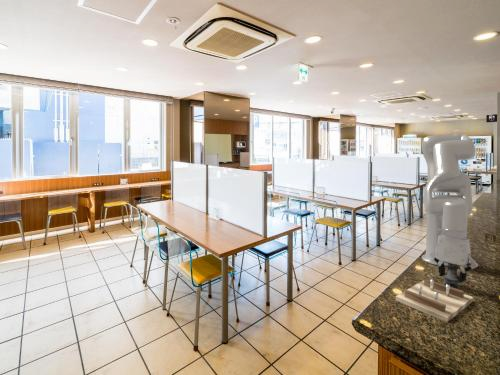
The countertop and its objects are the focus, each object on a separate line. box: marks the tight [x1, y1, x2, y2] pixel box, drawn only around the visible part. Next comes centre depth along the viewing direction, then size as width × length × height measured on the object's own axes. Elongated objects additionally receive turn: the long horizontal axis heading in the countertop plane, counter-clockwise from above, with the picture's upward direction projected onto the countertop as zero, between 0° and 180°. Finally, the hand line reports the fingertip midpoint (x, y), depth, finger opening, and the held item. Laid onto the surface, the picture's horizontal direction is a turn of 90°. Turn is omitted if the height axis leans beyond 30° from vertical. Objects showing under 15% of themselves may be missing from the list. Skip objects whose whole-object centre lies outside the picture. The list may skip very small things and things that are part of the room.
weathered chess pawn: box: [442, 263, 461, 290], centre depth 104 cm, size 6×6×12 cm
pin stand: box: [395, 278, 474, 323], centre depth 95 cm, size 20×16×6 cm
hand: (451, 277), depth 105 cm, fingers closed on weathered chess pawn, 5 cm apart
